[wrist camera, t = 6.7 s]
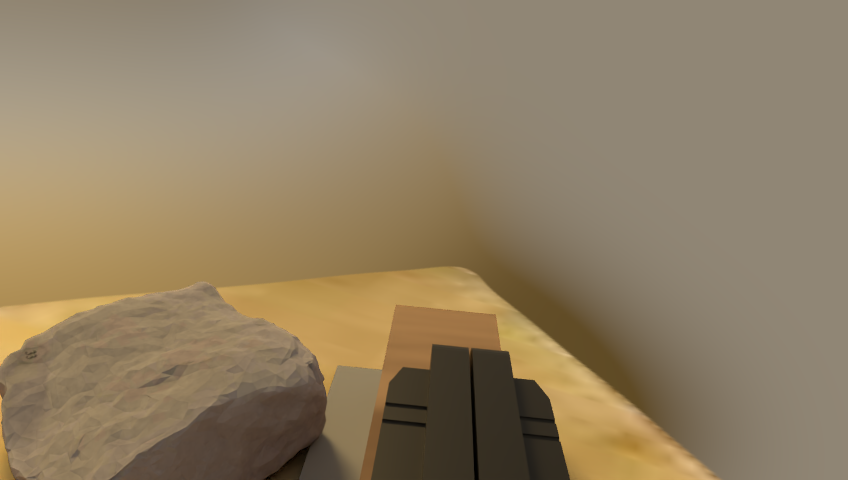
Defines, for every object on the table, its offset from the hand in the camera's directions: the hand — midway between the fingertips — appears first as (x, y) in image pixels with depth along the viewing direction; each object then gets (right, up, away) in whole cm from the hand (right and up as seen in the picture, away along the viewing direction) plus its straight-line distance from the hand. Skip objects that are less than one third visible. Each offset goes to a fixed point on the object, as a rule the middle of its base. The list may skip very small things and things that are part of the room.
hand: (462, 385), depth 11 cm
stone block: (-12, -5, +12) cm, 18 cm away
